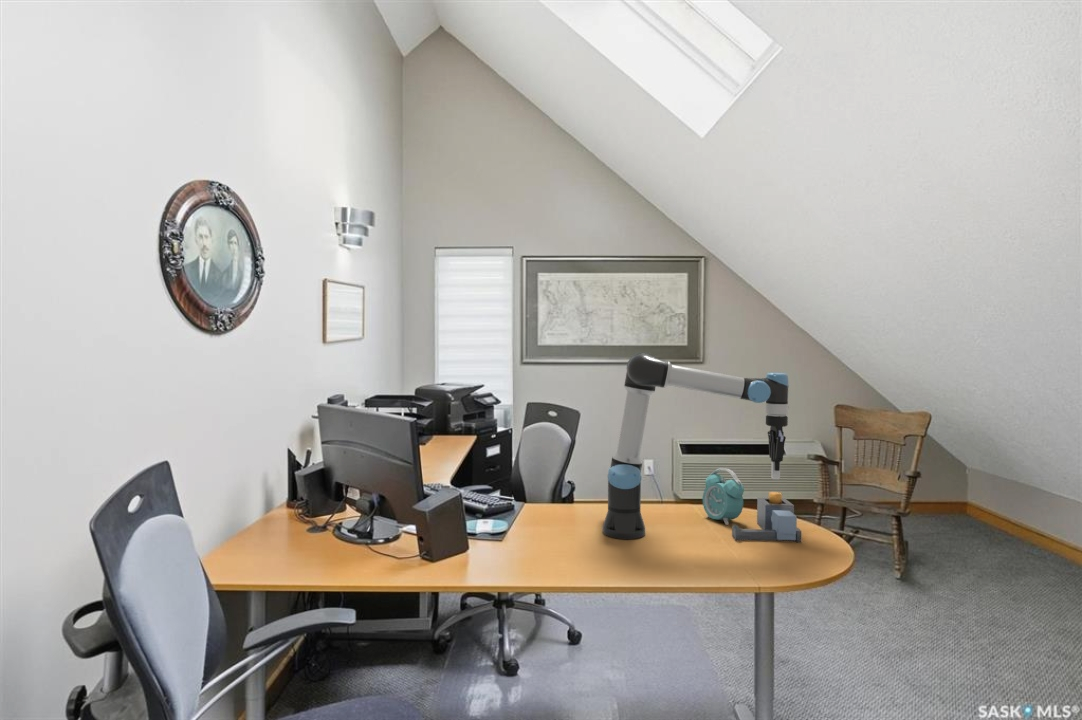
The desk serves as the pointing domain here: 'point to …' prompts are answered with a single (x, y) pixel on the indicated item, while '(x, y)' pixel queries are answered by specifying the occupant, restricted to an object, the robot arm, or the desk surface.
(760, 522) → the cabinet
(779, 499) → the button
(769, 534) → the rail
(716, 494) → the alarm clock
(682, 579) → the desk surface
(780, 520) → the block
